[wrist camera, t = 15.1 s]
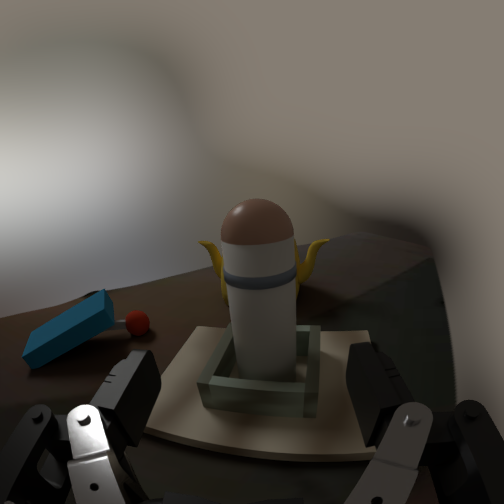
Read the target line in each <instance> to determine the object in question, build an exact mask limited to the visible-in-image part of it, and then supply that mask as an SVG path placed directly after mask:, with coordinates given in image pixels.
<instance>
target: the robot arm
mask: <svg viewBox="0 0 504 504" xmlns="http://www.w3.org/2000/svg"><path fill="white" fill-rule="evenodd" d="M161 385H162V382H161V376H160V374H159V371H158V368H157V365H156V362H155V359H154V356H153V353H152V352H151V351H150V350H140V349H133V350H132V351H131V353H130V354H129V356H128V357H127V359H126V360H122V361H120V362H119V363H118V364H116V365H115V366H114V367H113V369H112V370H111V372H110V373H109V376H107V378H106V379H105V382H103V384H102V385H101V387H100V388H99V390H98V391H97V393H96V394H95V396H94V398H93V399H92V401H91V402H90V404H89V405H81V406H78V407H76V408H74V409H73V410H72V411H71V412H70V413H69V415H54V414H53V413H52V411H51V410H50V408H49V407H47V406H46V405H36V406H33V407H31V408H30V409H29V410H28V411H27V412H26V414H25V415H24V417H23V418H22V420H21V421H20V423H19V424H18V426H17V427H16V429H15V430H14V432H13V433H12V435H11V436H10V438H9V439H8V441H7V443H6V444H5V446H4V447H3V449H2V451H1V452H0V504H64V503H65V501H66V498H67V496H68V493H69V491H70V488H71V486H72V488H73V492H74V496H75V500H76V503H77V504H220V503H217V502H213V501H210V500H207V499H204V498H201V497H198V496H191V495H184V494H178V493H172V492H167V491H165V494H164V498H159V499H152V500H150V499H149V498H148V496H147V495H146V493H145V492H144V491H143V489H142V487H141V485H140V483H139V481H138V479H137V477H136V475H135V472H134V470H133V468H132V466H131V463H130V461H129V458H128V456H127V454H126V452H125V448H126V446H127V445H128V446H133V447H138V444H139V442H140V439H141V437H142V434H143V432H144V429H145V427H146V424H147V422H148V420H149V417H150V415H151V412H152V410H153V408H154V405H155V403H156V400H157V398H158V396H159V393H160V391H161ZM346 385H347V389H348V392H349V395H350V398H351V401H352V404H353V408H354V411H355V414H356V417H357V420H358V424H359V427H360V430H361V434H362V437H363V440H364V444H365V447H366V448H368V447H372V446H375V448H376V453H375V454H374V456H373V458H372V459H371V461H370V463H369V465H368V466H367V468H366V470H365V471H364V473H363V475H362V477H361V478H360V480H359V481H358V483H357V485H356V486H355V488H354V489H353V491H352V492H351V494H350V495H349V497H348V498H347V500H346V501H345V503H344V504H405V503H406V500H407V498H408V496H409V494H410V492H411V490H412V487H413V485H414V483H415V480H416V478H417V475H418V471H419V470H418V469H417V466H428V467H429V470H430V474H431V477H432V480H433V483H434V487H435V490H436V493H437V497H438V500H439V504H504V440H503V438H502V437H501V435H500V433H499V431H498V430H497V428H496V426H495V424H494V422H493V421H492V419H491V417H490V416H489V414H488V412H487V410H486V409H485V408H484V406H483V405H482V404H481V403H479V402H477V401H474V400H465V401H462V402H460V403H459V404H458V405H457V406H456V408H455V409H454V411H452V412H431V410H430V409H429V408H428V407H427V406H425V405H423V404H421V403H417V402H415V401H414V399H413V397H412V395H411V393H410V391H409V390H408V388H407V386H406V384H405V382H404V380H403V379H402V377H401V376H400V373H399V372H398V370H397V369H396V366H395V365H394V363H393V361H392V359H391V358H390V357H388V356H387V355H386V354H384V353H383V352H377V353H376V352H375V351H374V349H373V347H372V345H371V343H370V342H361V343H354V344H351V345H350V347H349V354H348V361H347V368H346ZM45 448H46V449H47V450H48V451H49V452H50V453H49V455H48V457H47V459H46V461H45V463H44V465H43V467H42V469H41V471H40V473H38V471H37V463H38V461H39V459H40V457H41V455H42V453H43V451H44V449H45ZM249 504H304V503H303V498H292V499H274V500H264V501H260V502H255V503H249Z"/></svg>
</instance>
